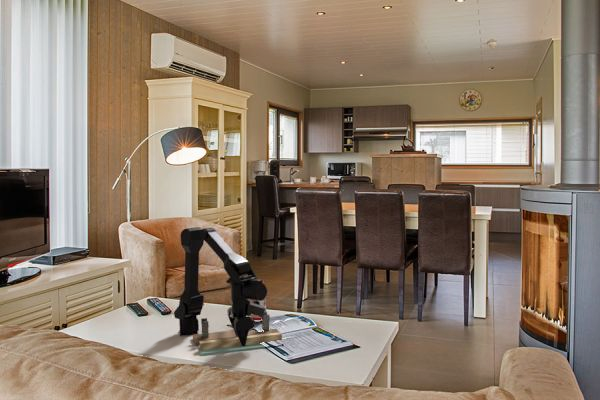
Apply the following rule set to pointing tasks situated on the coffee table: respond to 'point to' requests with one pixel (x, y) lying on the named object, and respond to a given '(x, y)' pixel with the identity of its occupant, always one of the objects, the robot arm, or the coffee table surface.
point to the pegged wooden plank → (205, 325)
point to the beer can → (260, 304)
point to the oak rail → (236, 342)
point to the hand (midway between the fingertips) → (241, 341)
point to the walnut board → (227, 335)
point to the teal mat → (231, 349)
